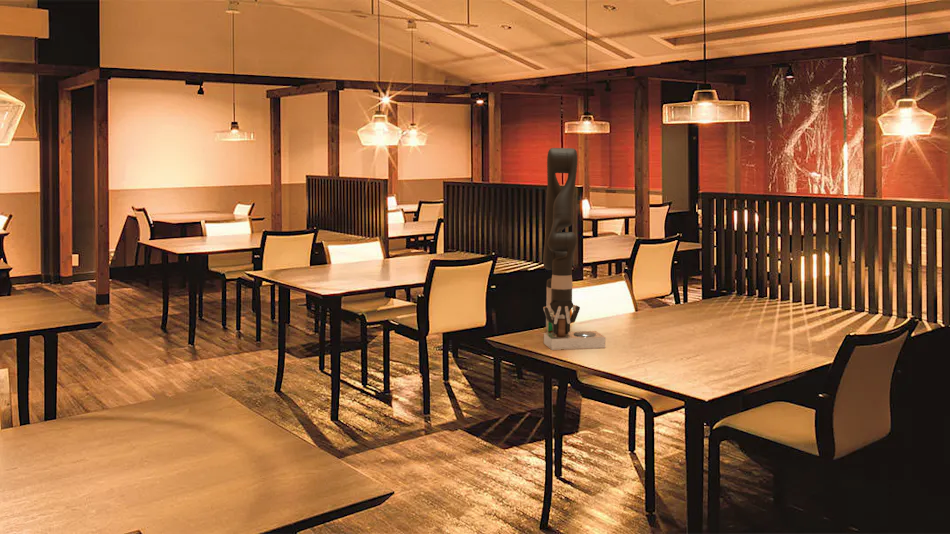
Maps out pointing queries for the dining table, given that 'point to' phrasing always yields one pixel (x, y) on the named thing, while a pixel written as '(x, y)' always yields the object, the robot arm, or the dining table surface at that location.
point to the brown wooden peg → (561, 327)
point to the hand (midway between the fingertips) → (561, 333)
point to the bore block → (575, 340)
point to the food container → (550, 325)
